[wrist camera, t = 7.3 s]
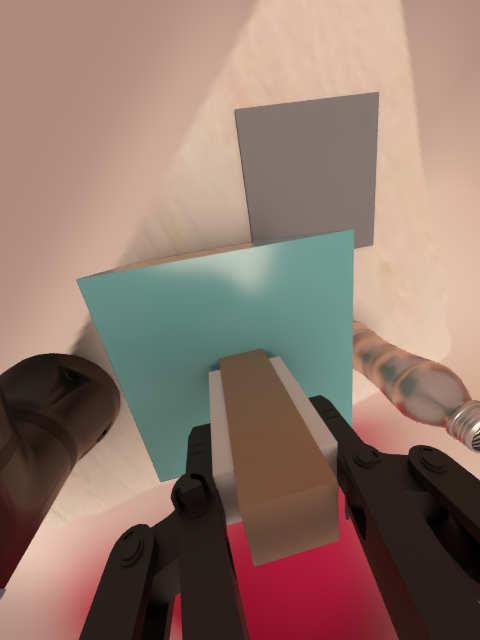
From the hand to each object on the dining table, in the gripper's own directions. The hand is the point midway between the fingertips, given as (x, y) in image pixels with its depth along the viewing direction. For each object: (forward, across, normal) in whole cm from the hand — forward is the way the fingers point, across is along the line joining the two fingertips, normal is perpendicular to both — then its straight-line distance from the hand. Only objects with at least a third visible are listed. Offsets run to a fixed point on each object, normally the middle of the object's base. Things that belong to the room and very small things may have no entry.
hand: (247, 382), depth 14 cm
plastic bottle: (+19, +18, -9) cm, 28 cm away
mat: (+19, +14, +13) cm, 27 cm away
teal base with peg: (+12, 0, 0) cm, 12 cm away
